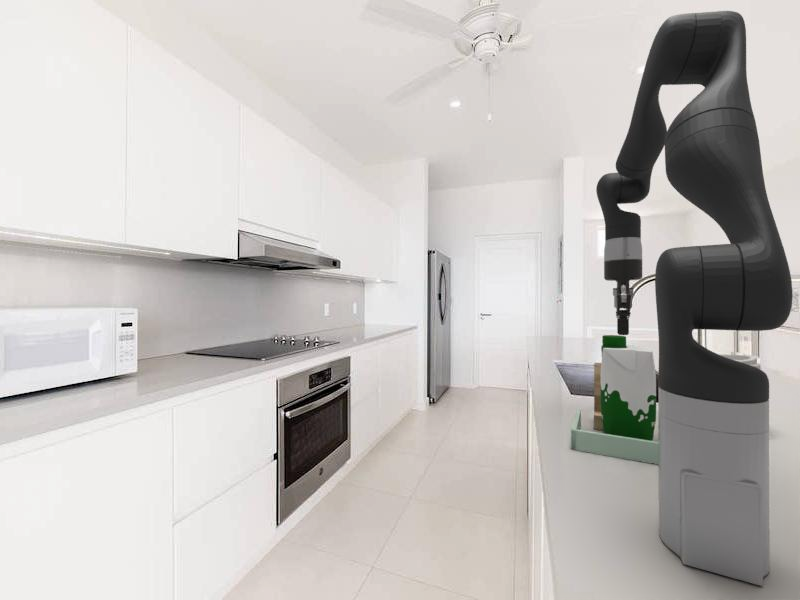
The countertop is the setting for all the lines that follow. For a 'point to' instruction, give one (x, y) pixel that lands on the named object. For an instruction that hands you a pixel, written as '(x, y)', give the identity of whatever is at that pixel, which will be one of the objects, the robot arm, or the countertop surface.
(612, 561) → the countertop surface
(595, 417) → the brown box
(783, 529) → the countertop surface
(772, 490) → the countertop surface
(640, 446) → the tray
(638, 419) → the soya milk
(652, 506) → the countertop surface
